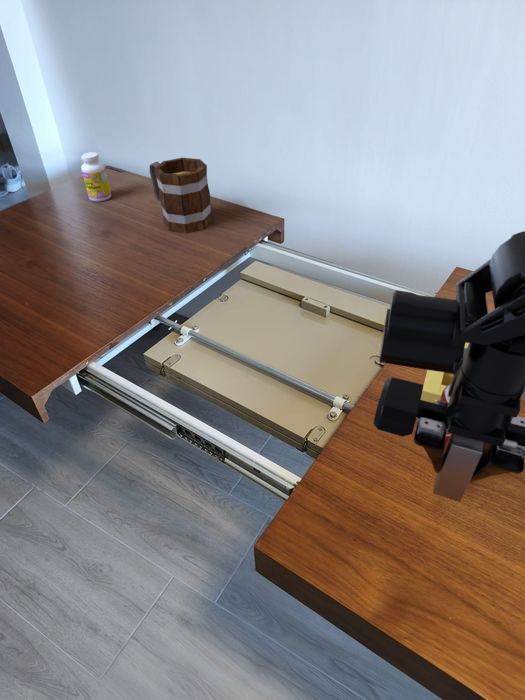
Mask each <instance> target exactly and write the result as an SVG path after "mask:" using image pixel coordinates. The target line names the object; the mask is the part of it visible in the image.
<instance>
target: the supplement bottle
mask: <svg viewBox="0 0 525 700" xmlns="http://www.w3.org/2000/svg"><path fill="white" fill-rule="evenodd" d="M81 161H82V162H83V164H81V167H80V170H81V174H82V177H83V181H84V185H85V188H86V192H87V195H88V198H89V200H90V201H92V202H97V203H100V202H104V201H107V200H109V199H110V198H111V197H112V191H111V187H110V182H109V180H108V179H109V178H108V175H107V171H106V166H105V165H104V163H103V162H102V161H100V157H99V153H98V152H95V151H94V152H93V151H91V152H90V151H89V152H85V153H83V154H82V155H81Z"/></svg>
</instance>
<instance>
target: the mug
mask: <svg viewBox="0 0 525 700" xmlns="http://www.w3.org/2000/svg"><path fill="white" fill-rule="evenodd" d="M149 175H150V179H151V183H152V187H153V193H154V197H155V199H156V201H157V203H158V204H159V205H161V209H162V215H163V224H164V226H165V227H166V228H167V229H168V231H169V232H176V233H183V234H190V233H193V232H197V231H202V230H206V229H207V228H208V226H209V225H210V224H211V223H212V222H213V221H214V219H213V214H212V208H211V193H210V188H209V183H208V182H209V181H208V165H207V164H206V163H205V162H204V161H203V160H201V159H200V158H190V157H178V158H173V159H167V160H163V161H161V162H159V161H154V162H152V163H150V164H149Z"/></svg>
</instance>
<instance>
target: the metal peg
mask: <svg viewBox="0 0 525 700" xmlns="http://www.w3.org/2000/svg"><path fill="white" fill-rule="evenodd" d="M483 445H484V442H482V441H478V440H474V439H471V438H467V437H463V436H460V435H456V434H452V433H451V434H450V437H449V439H448V442H447V445H446V448H445V450H444V454H443V461H442V468H441V470H440V472H439V473H436V472H435V477H434V483H433V489H432V494H433V495H437V496H439V497H442V498H445V499H449V500H452V501H455V502H458V503H461V502H462V499H463V497H464V496H465V493H466V491H467V489H468V486H469V485H470V480H471V478H472V476H473V474H474V471H475V469H476V467H477V465H478V463H479V460H480V458H481V456H482V454H483Z"/></svg>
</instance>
